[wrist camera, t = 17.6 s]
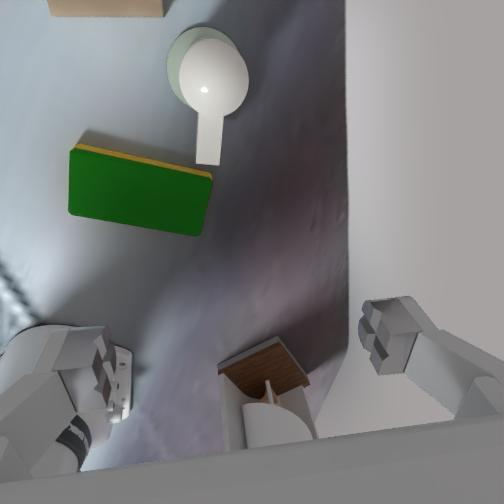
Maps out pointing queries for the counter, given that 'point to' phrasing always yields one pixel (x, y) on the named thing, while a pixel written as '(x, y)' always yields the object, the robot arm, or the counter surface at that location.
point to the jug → (212, 91)
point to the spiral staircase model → (264, 398)
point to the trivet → (180, 49)
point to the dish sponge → (137, 190)
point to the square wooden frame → (106, 8)
